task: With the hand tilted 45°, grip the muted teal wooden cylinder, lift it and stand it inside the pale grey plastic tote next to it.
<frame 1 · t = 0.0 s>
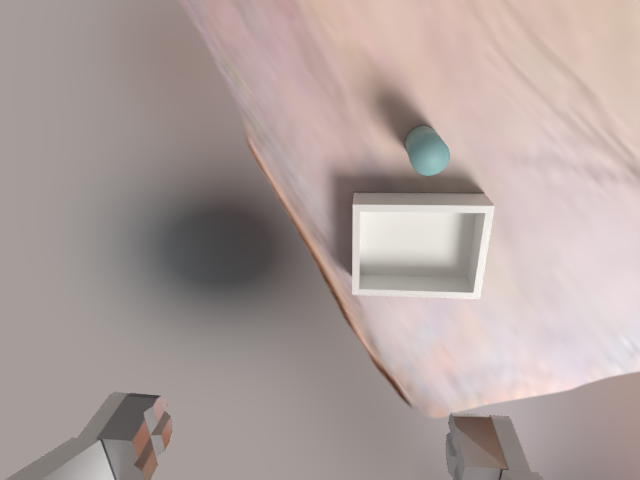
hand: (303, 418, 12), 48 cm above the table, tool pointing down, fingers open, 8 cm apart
teal cylinder: (421, 142, 55), on the table
tote: (414, 238, 61), on the table
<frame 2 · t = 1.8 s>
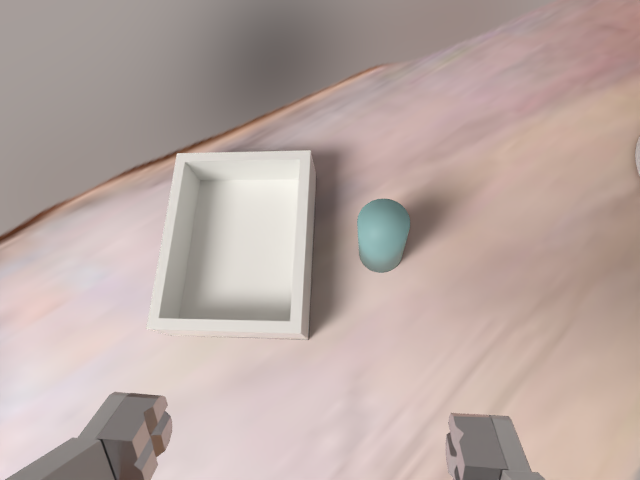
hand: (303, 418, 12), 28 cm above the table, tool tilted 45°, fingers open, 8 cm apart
teal cylinder: (380, 251, 42), on the table
tote: (247, 251, 44), on the table
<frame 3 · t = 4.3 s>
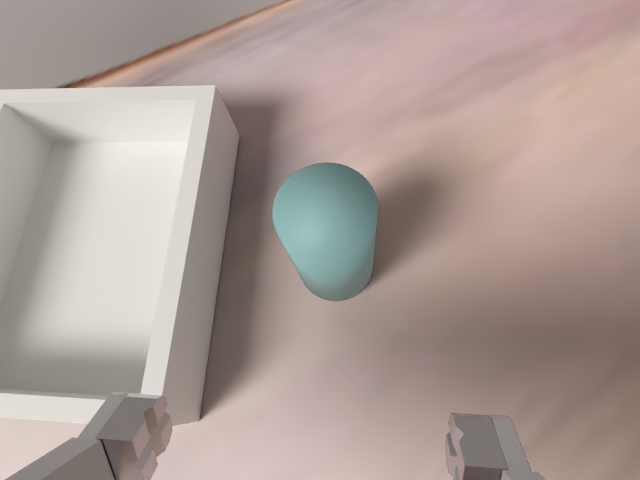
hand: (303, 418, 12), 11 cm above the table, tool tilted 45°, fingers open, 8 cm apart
teal cylinder: (336, 264, 25), on the table
tote: (114, 258, 26), on the table
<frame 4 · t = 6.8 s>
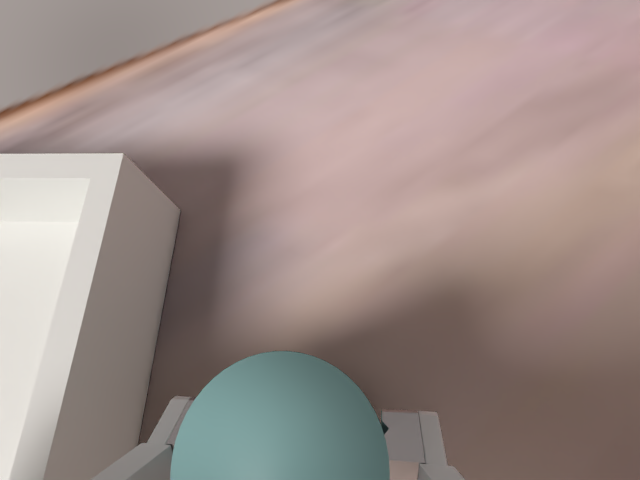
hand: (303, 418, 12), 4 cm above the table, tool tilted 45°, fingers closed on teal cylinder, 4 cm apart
teal cylinder: (317, 429, 16), on the table, touching gripper
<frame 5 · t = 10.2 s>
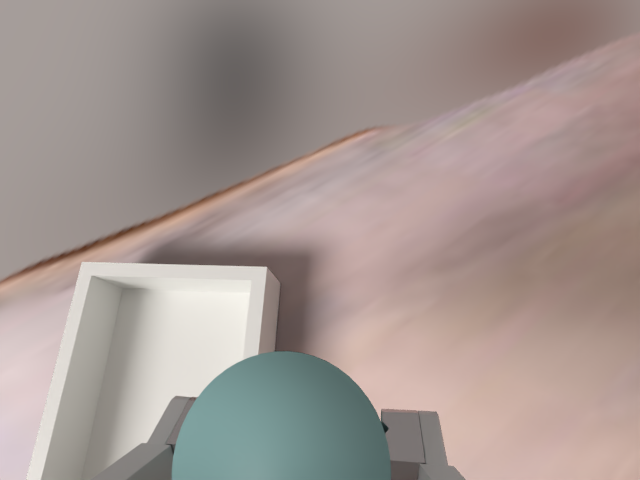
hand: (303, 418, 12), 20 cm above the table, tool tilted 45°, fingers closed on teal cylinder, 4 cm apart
teal cylinder: (318, 429, 16), point 15 cm above the table, touching gripper
tote: (180, 396, 31), on the table
when the fingers open (7 cm above the table, at t = 13.9 s): teal cylinder drops 2 cm, resting on tote.
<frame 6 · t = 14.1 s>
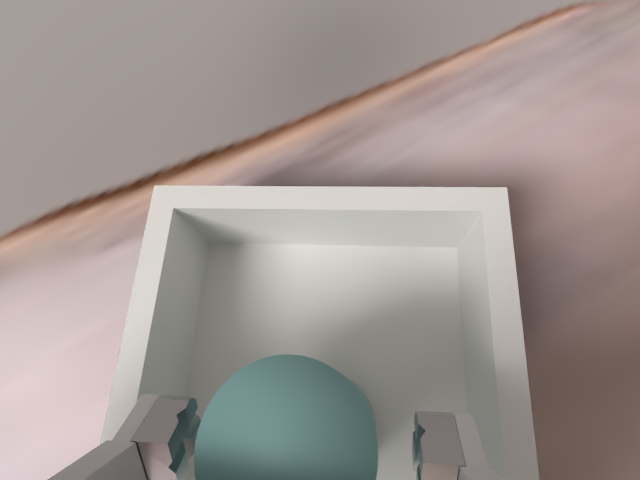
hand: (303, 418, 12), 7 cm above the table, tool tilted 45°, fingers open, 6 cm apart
teal cylinder: (322, 427, 17), point 1 cm above the table, touching tote
tote: (322, 424, 18), on the table
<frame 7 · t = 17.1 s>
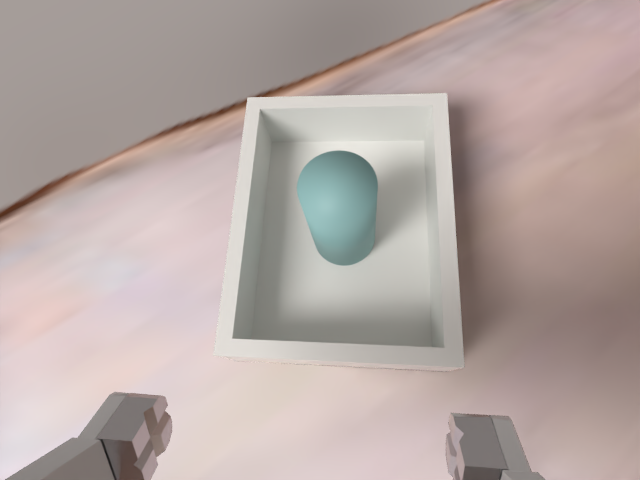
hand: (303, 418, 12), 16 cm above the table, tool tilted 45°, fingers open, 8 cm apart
teal cylinder: (344, 236, 30), point 1 cm above the table, touching tote
tote: (343, 239, 31), on the table
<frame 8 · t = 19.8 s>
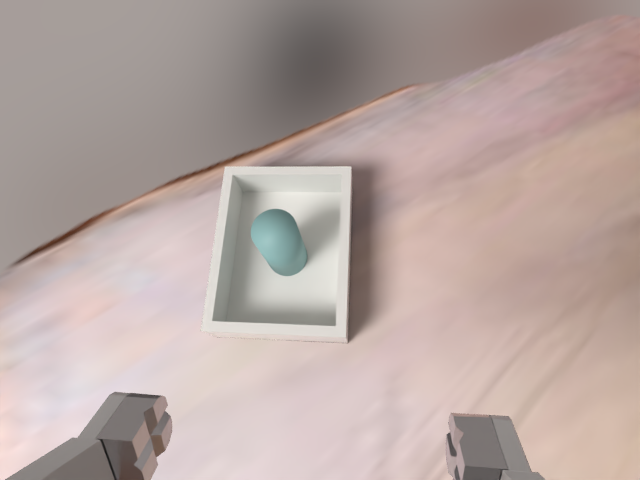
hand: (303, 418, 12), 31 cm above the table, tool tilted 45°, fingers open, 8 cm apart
teal cylinder: (287, 257, 46), point 1 cm above the table, touching tote
tote: (288, 259, 47), on the table
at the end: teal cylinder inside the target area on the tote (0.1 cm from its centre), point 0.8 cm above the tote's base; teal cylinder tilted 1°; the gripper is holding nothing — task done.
